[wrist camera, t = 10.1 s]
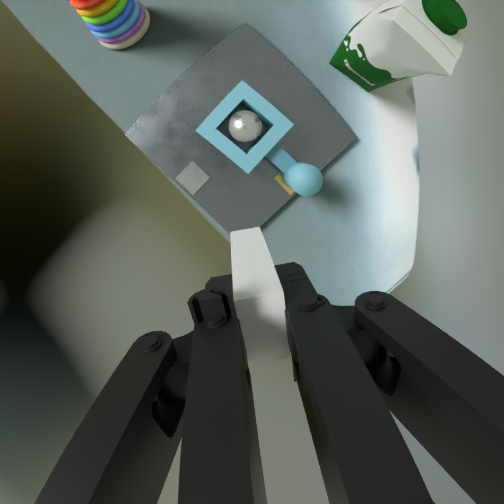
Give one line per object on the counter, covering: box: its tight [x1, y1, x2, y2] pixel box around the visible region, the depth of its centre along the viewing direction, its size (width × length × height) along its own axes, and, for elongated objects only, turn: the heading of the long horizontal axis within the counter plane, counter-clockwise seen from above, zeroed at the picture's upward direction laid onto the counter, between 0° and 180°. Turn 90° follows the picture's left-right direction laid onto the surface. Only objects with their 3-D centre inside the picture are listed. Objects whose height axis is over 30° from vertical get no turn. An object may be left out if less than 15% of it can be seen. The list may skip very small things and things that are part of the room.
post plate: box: [125, 23, 357, 234], centre depth 31 cm, size 22×22×6 cm
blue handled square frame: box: [195, 81, 323, 196], centre depth 31 cm, size 8×15×6 cm, turn 49°
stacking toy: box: [70, 0, 150, 49], centre depth 18 cm, size 8×8×19 cm
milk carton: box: [329, 0, 468, 92], centre depth 22 cm, size 9×9×20 cm
